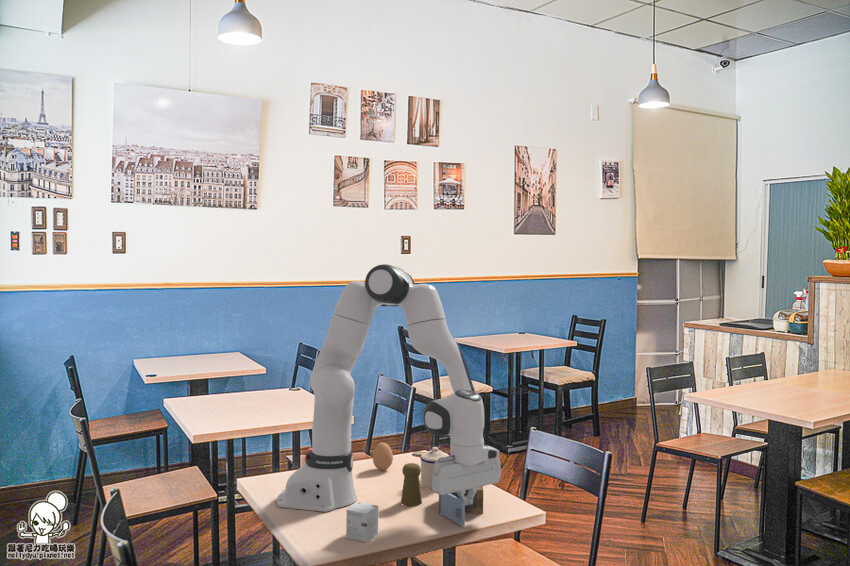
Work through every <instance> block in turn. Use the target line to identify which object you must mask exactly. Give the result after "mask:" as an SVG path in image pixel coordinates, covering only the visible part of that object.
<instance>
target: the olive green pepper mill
mask: <svg viewBox="0 0 850 566" xmlns="http://www.w3.org/2000/svg"><path fill="white" fill-rule="evenodd" d="M401 471H402V475H403V477H404V478H403V485H402V491H401V492H402V493H401V499H400V503H401V505H402V504H403V506H404V505H405V507H418V505H419V506H420V504H421V505H422V503H423V500H422V492H421V491H422V490H421V481H420V476H421V465H419V464H418V463H414V462H409V463H406V464H404V465H403V467H402V470H401Z"/></svg>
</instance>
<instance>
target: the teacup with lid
mask: <svg viewBox="0 0 850 566" xmlns="http://www.w3.org/2000/svg"><path fill="white" fill-rule="evenodd" d="M447 456H450V455H449V454H448V453H446V452H444V451H442V450H440V449H439V447H438V446H433V447H432V448H431V450H430V449H429V450H428V451H427V452H424V453H422V454H421V455H420V457H419V458H420V468H421V472H420V487H422V486H423V487H422V488H424V489H426V488H427V490H431V489H432V478H433V472H434V463H435V462H436V461H437V460H438V459H439V458H442V457H443V458H444V457H447ZM438 462H439V461H438Z"/></svg>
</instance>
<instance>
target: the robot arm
mask: <svg viewBox="0 0 850 566" xmlns="http://www.w3.org/2000/svg"><path fill="white" fill-rule="evenodd" d="M336 302H337V303H336V305H335V308H334V310H333V314H332V317H331V321H330V324H329V327H328V330H327V333H326V337H325V339H324V341H323V344H322V347H321V349H320V351H319V353H318V355H317V358H316V360H315V363H314V365H313V368H312V371H311V373H310V376H309V385H310V388H311V390H312V392H313V394H314V395H313V396H314V402H313V403H314V405H313V406H314V407H313V416H312V417H313V418H312V425H311V426H312V427H311V429H312V430H311V432H312V433H311V439H312V440H311V444H312V445H311V446H312V447H308V449H307V450H306V452H305V456H304V462H305V464H303V465H302V466H301V467H299V468H298V469H297V470H295V471H294V472H292V474H290V476H289V477H288V479H287V481H286V484H285V488H284V490H282V491H281V492H280V493H279V495H278V496H277V499H276V504H277V506H278V507H279V508H283V509H284V508H286V509H295V510H297V509H298V510H303V511H315V512H316V511H317V512H325V513H328V512H331V511H333V510H336V509H339V508H344V507H347V506H349V505H351V504H353V503H354V502H356V501H357V497H358V496H357V494H356V489H355V485H354V478H353V469H354V454H353V449H352V418H353V412H354V404H355V403H354V401H355V391H356V386H355V380H354V378H353V377H352V375H351V374H352V371H353V369H354V367H355V364H356V362H357V361H358V359H359V356H360V355H361V353H362V352H363V350H364V347H365V343H366V340H367V337H368V334H369V331H370V326H371V324H372V320H373V317H374V314H375V312H376V311H377V309H378V307H380V306H381V307H400V308H401V309H402V310H403V311H402V312H403V313H404V316H405V322H406V323H405V324H406V328H407V334H408V338H409V341H410V344H411V346H412V348H413V349H414V350H416V351H417V352H418V353H420V354H422V355H423V356H426V357H429V358H432V359H435V360H436V361H438V362H439V363H441V364H442V365H443V367H444V368H445V370H446V373H447V375H448V379H449V382H450V385H451V388H452V392H453V393H452V394H450V395H448V396H446V397H443V398H439V399H434V400H432V401H429V402H427V404H426V405H425V407H424V410H423V412H422V413H423V415H422V421H423V423H424V426H425V428H426V430H427V431H428V432H429V433H431V434H432V435H435V436H449V438H450V450H449V451H450V452H449V454H450V455H449V456H447V457H444V458H443V457H442V458H439V459H438V460H437V461H436V462H435V463H434V472H433V478H432V492H434V493H436V494H437V495H438V496H439V495H445V494H449V493H454V492H457V494H458V496H459V497H460V499H462V500H463V501H465V506H466V505H471V504H473V498H474V496H475V493H476V491H477V487H481V486H483V487H484V486H490V485H494V484H497V483H499V481H500V480H501V474H502V471H501V469H502V468H501V467H502V466H501V462H500V459H499V458H500V450H499V449H497V448H495V447H493V446H491V445H487V444H485V440H484V436H483V435H484V428H485V407H484V402H483V399H482V396H481V394H479V393H478V392H477V391H476V390H475V388H474V384H473V381H472V379H471V376H470V371H469V368H468V365H467V363H466V360H465V357H464V354H463V352H462V349H461V346H460V345H459V343H458V341H456V340H455V339H454V337H453V336H452V334H451V331H450V329H449V327H448V326H449V325H448V323H447V317H446V313H445V310H444V306H443V303H442V300H441V296H440V295H439V293H438V290H437V288H435V286H433V285H431V284H429V283H418V284H417V283H416V284H415V281H414V279H413V278H412V276H411V275H410V274H409V273H408V272H406V271H405V270H404V269H402V268H400V267H397V266H394V265H390V264H386V263H385V264H383V263H382V264H378V265H376V266H374V267H372V268H371V269H370V270H369V271H368V273H367V274H366V277H365V279H364V281H361V280H353V281H350V282H348V283H346V285H345V286H344V288H343V290H342V292H341V293H340V296H339V298H338V300H337V301H336ZM438 461H439V462H438ZM467 489H468V490H469V492H468V495H467V497H465V496H464V494H465V490H467Z"/></svg>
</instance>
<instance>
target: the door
mask: <svg viewBox="0 0 850 566" xmlns="http://www.w3.org/2000/svg"><path fill="white" fill-rule="evenodd" d="M438 513H439V514H440V515H442V516H444V517H446V518H447V519H449V520H451V521H453V522H455V523H456V524H457V525H460V526H461V527H464V526H465V521H466V520H465V519H466V513H465V501H463V500H462V499H460V498H458V497H456V496H454V495H452V494H450V493H449V494H445V495H439V494H438Z"/></svg>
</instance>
